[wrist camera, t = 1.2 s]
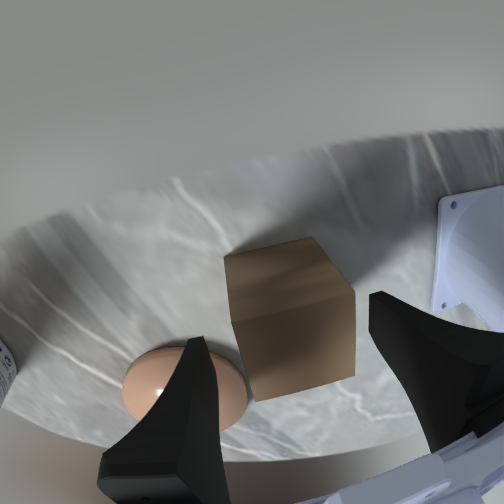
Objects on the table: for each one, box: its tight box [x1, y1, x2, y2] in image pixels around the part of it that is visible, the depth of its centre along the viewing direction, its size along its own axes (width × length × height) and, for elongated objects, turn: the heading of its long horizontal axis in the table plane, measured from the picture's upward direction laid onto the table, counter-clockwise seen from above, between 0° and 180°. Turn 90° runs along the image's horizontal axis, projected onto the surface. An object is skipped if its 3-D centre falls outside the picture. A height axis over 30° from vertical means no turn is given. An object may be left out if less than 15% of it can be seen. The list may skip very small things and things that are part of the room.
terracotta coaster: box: [122, 347, 247, 432], centre depth 19 cm, size 8×8×1 cm
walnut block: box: [224, 237, 356, 402], centre depth 14 cm, size 4×4×6 cm
